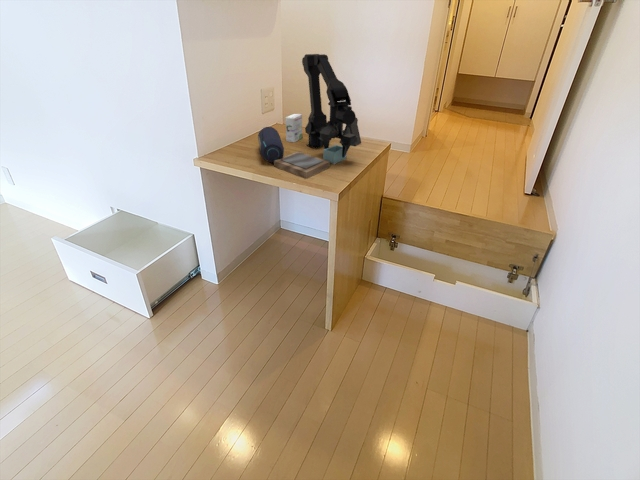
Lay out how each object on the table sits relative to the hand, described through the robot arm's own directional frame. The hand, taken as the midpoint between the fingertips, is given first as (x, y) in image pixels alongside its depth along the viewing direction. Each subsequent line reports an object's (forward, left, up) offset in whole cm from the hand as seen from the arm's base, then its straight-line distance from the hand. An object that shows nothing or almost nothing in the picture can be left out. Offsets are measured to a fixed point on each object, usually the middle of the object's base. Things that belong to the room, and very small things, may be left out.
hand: (334, 154), depth 156 cm
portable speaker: (-24, -15, -2) cm, 28 cm away
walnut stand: (-5, -16, -2) cm, 17 cm away
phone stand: (-8, +23, -2) cm, 24 cm away
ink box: (-32, +8, -2) cm, 33 cm away
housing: (0, 0, -2) cm, 2 cm away
